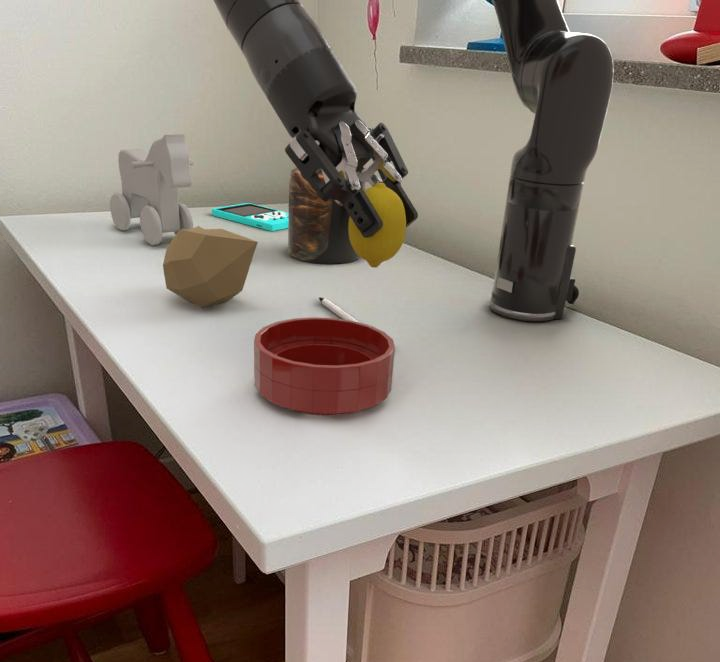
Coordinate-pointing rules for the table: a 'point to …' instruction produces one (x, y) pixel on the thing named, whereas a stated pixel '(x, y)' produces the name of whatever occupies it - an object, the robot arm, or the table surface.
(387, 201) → the lemon
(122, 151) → the pony
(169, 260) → the low-poly potato
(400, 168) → the robot arm
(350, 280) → the table surface
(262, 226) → the handheld game console
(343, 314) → the pen
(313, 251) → the jar
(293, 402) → the bowl
